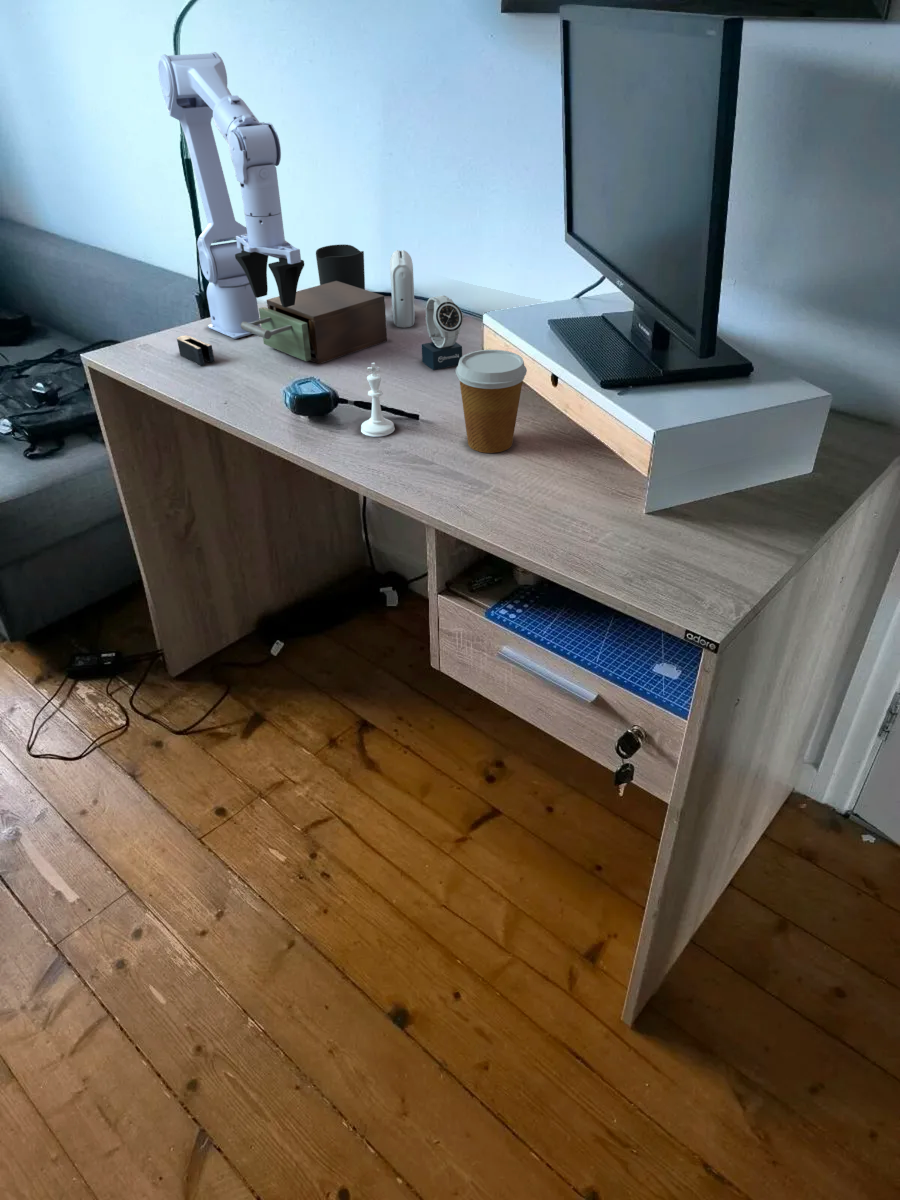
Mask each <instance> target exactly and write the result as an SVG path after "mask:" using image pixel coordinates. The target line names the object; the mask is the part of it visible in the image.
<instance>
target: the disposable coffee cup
mask: <svg viewBox="0 0 900 1200" xmlns="http://www.w3.org/2000/svg"><path fill="white" fill-rule="evenodd" d="M524 362H525V361H524V359H523V357H522V355H521V356H520V355H519V354H518V353H515V352H513V351H509V350H502V349H480V350H474V351H469V352H468V353H465V354H464V355H462V357H461V358H460V360H459V364H458V365H456V368H455V374H456V377H457V379H458V380H459V386H460V387H459V388H460V394H461V402H462V403H461V404H462V410H463V415H464V417H463V419H464V424H465V432H466V439H467V445H468V447H469V448H470V449H471V450H473V451H476V452H479V453H483V454H484V453H485V454H495V453H501V452H505V451H506V450H509V449H510V448H511V447H512V446H513V441H514V437H515V436H514V435H515V429H516V423H517V418H518V417H517V416H518V412H519V406H520V405H519V404H520V399H521V393H522V387H523V381H524V379H525V376H526V375H527V373H528V369H527V367H526V366H525V363H524Z"/></svg>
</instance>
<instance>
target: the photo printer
mask: <svg viewBox="0 0 900 1200" xmlns="http://www.w3.org/2000/svg"><path fill="white" fill-rule="evenodd" d="M412 259H413V258H412V257H411V255H410V253H409V252H408V251H406V250H405V249H402V250H399V249H397V250H395V251H394V252H393V253H392V254H391V256H390V258H389V273H390V274H389V275H390V288H391V290H390V291H391V311H392V312H391V313H392V321H393V325H394V326H395V327H397V328H411V327H412V326H414V325H415V320H416V319H415V318H416V313H415V311H416V309H415V284H414V283H415V282H414V263H413V260H412Z"/></svg>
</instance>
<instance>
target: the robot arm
mask: <svg viewBox="0 0 900 1200" xmlns="http://www.w3.org/2000/svg"><path fill="white" fill-rule="evenodd" d="M157 71H158V81H159V85H160V88H161V92H162V96H163V100H164V104H165V107H166V109H167V111H168V115H169V116H170V117H171V118H173V119H175V120H177V121H179V123H180V127H181V129H182V131H183V135H184V138H185V141H186V145H187V149H188V152H189V156H190V157H189V158H190V160H191V164H192V168H193V172H194V175H195V180H196V183H197V187H198V190H199V195H200V198H201V203H202V206H203V210H204V213H205V218H206V221H207V226H206V228H205V229H204V230H203V231H202V232H201V233H200V235H199V236H198V238H197V242H196V246H197V249H198V259H199V264H200V268H201V272H202V274H203V276H204V277H205V279H206V280H207V281H208V282H209V283H208V285H207V287H206V299H207V304H208V310H209V315H210V321H211V323H210V324H208V325H207V327H208V329H211V330H213V331H215V332H218V333H220V334H223V335H225V336H227V337H229V338H231V339H239V338H244V337H246V336H250V335H254V334H253V333H250V332H248V331H245V330H243V329H242V328H241V323H242V322H243V321H246V322H248V323H250V322H253V321H257V320H260V314H259V305H258V300H257V299H258V298H262V297H267V296H268V289H269V288H268V287H269V286H268V269H270V272H271V273H272V275H273V278H274V280H275V283H276V286H277V292H278V296H279V297H280V301H281V304H282V306H283V307H289V306H293V305H295V299H296V292H297V291H298V290H297V289H298V284H299V281H300V280H299V279H300V276H301V274H302V271H303V270H304V268H305V260H304V259H302V257H301V249H300V248H297V247H295V246H294V245H292V244H291V243H290V242H289V241H287V240H286V237H285V230H284V221H283V213H282V205H281V195H280V187H279V180H278V172H277V167H278V166H279V165H280V163H281V158H282V150H281V149H282V148H281V143H280V138H279V135H278V132H277V131H276V128H275V127H274V124H273V123H272V122H265V121H262V122H260V121H259V120H258V118H257V117H256V115H255V114H254V113H253V111H252V110H251V109H250V107H249V106H248V105H247V103H246V102H245V101H244V99H242V98H241V97H239V95H232V93H231V91H230V90H229V87H228V73H227V70H226V66H225V63H224V61H223V59H222V57H221V56H220V55H219V53H217V51H211V52H210V53H209V52H208V53H193V54H191V53H190V54H189V53H188V54H172V55H167V54H161V55H160V57H159V59H158V62H157ZM212 120H213V124H214V125H215V127H216V128H217V130H218V131H219V132H220V134H221V135H222V137H223V138H224V140H225V141H226V143H227V144H228V151H229V155H230V159H231V162H232V164H233V169H234V174H235V177H236V181H237V182H238V183H239V186H240V192H241V199H242V206H243V213H244V219H245V221H244V222H245V225H243V224H242V223H240V222H239V221H237V220H236V218H235V214H234V209H233V205H232V202H231V198H230V194H229V191H228V186H227V182H226V179H225V174H224V170H223V166H222V162H221V158H220V155H219V150H218V147H217V142H216V138H215V134H214V130H213V126H212ZM216 243H218V244H216ZM269 257H271V258H275V259H278V261H274V262H270V263H268V261H269ZM256 326H258V327H261V324H259V325H256ZM261 328H262V327H261Z"/></svg>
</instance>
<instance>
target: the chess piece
mask: <svg viewBox="0 0 900 1200" xmlns="http://www.w3.org/2000/svg"><path fill="white" fill-rule="evenodd" d="M366 369H367V372H371V374H368V375H367V376H366V379H367V382H368V384H369V387H370V390H368V391H367V396H368V397H371V398H372V399H371V415H370V417H369V419H366V420H365V421H363V422H362V423H361V425H360V432H361V433H362V434H363V435H365V436H367V437H374V438H379V437H380V438H381V437H386V436H389V435H391V434H393V433H394V431H395V430H396V429H395V424H394V422H393V421H392V420H390V419H388V418H385V416H383V412H382V407H381V401H380V397H381V396H383V394H384V392H383V390H382V389H380V384H381V381H382V375H380V374H379V373H376V372H380V371H381V369H380V366H376V362H371V366H369V367H367V368H366Z"/></svg>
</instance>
